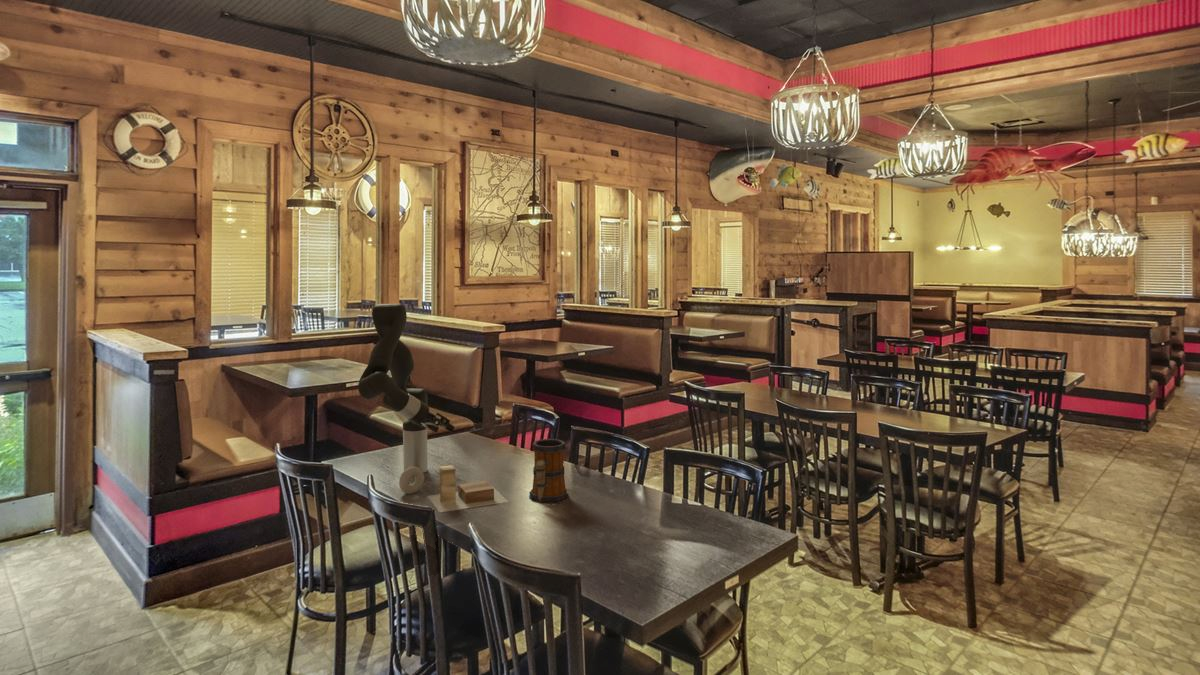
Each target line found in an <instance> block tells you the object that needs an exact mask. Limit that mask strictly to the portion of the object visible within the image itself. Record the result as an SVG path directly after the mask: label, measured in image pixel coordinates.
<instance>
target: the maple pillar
mask: <svg viewBox="0 0 1200 675" xmlns="http://www.w3.org/2000/svg"><path fill="white" fill-rule="evenodd" d="M438 468H439V469H438V474H439V477H438V478H439V485H438V486H439V489H438V490H439V494H440V502H441V503H442V504H443V505H445V504H451V503H456V492H457V491H456V489H457V488H456V487H457V486H456V484H457V481H456V478H457V477H456V475H457V474H456V468H455V466H453V465H451V464H450V465H445V466H443V465H442V466H439V467H438Z"/></svg>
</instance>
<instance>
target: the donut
mask: <svg viewBox="0 0 1200 675" xmlns="http://www.w3.org/2000/svg"><path fill="white" fill-rule="evenodd" d="M412 477H414V481H413V483H412V484H410V479H411V478H412ZM398 480H399V482H398V484H399V488H400V490H401V492H403V493H404V494H405V495H412V494H413V495H414V494H416V493H418V492H419V491H420V490H421V489H422V487H423V485H424V481H425V473H423V472H422V470H421V469H420V468H418V467H409V468H407V469H406V470H405V471H404V470H403V471H402V473H401V475H400V477H399V479H398Z"/></svg>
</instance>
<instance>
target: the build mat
mask: <svg viewBox="0 0 1200 675" xmlns="http://www.w3.org/2000/svg"><path fill="white" fill-rule="evenodd" d="M493 488H494V500H490V501H483V502H477V503H470V504H465V502H464V501H463V500H462V499H461V498H460V497H459V496H458V491H456V503H451V504H445V505H443V504H442V503H441V502H440V493H439V494H433V495H432V494H431V495H427V496H426V497H427V498H428V499H429V501H430V502H431V503H432V504H433V506H434V507H435V509H436V510H437V511H438V512H439V513H444V512H452V511H458V510H464V509H471V508H477V507H478V508H479V507H483V506H490V505H496V504H504V503H509V502H510V501H509V500H508V499H506V497H504V496H503V495H502V494H501V492H499V491H498V490H497V489H495V487H493Z"/></svg>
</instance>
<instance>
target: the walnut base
mask: <svg viewBox="0 0 1200 675" xmlns="http://www.w3.org/2000/svg"><path fill="white" fill-rule="evenodd" d="M494 488H495V487H493V486H492V485H490V484H489V482H488V481H487V480H480V481H474V482H464V483H458V484H457V492H458V496H459V497H460V498H461V499H462V500H463V501H464V502H465V504H470V503H477V502H483V501H490V500H494Z"/></svg>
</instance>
